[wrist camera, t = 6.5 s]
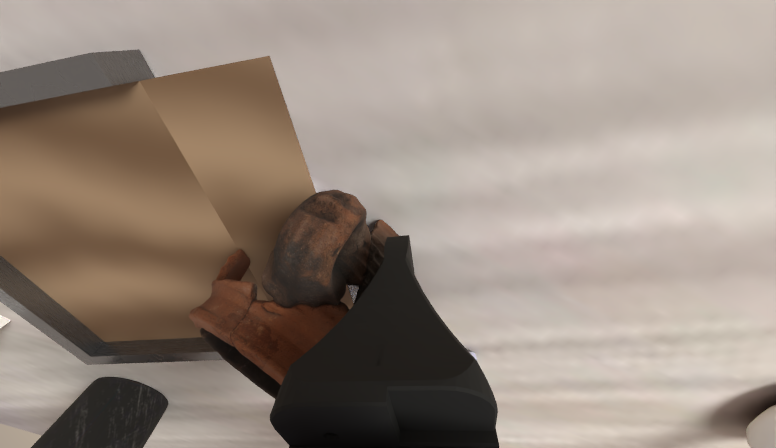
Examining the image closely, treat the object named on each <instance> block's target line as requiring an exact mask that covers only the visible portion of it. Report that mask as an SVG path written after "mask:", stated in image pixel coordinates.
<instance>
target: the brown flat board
mask: <svg viewBox="0 0 776 448" xmlns="http://www.w3.org/2000/svg"><path fill="white" fill-rule="evenodd" d="M314 194H316V192H315V189H314V186H313V183H312V180H311V177H310V174H309V171H308V168H307V165H306V162H305V159H304V157H303V154H302V151H301V148H300V145H299V142H298V139H297V136H296V133H295V130H294V127H293V124H292V121H291V118H290V115H289V112H288V109H287V106H286V104H285V101H284V98H283V95H282V92H281V89H280V86H279V83H278V80H277V77H276V74H275V71H274V68H273V65H272V62H271V59H270V56H266V57H261V58H256V59H251V60H246V61H240V62H235V63H230V64H225V65H220V66H215V67H209V68H204V69H199V70H194V71H189V72H183V73H178V74H173V75H168V76H163V77H157V78H152V79H147V80H142V81H137V82H132V83H126V84H121V85H116V86H111V87H106V88H101V89H95V90H90V91H85V92H80V93H75V94H70V95H65V96H59V97H54V98H49V99H44V100H39V101H34V102H29V103H23V104H18V105H13V106H8V107H3V108H0V255H1V256H2V257H3V258H4V259H5V260H7V261H8V262H9V263H10V264H11V265H13V266H14V267H15V268H16V269H17V270H19V271H20V272H21V273H22V274H23V275H25V276H26V277H27V278H28V279H30V280H31V281H32V282H33V283H34V284H36V285H37V286H38V287H39V288H40V289H42V290H43V291H44V292H45V293H46V294H48V295H49V296H50V297H51V298H53V299H54V300H55V301H56V302H57V303H59V304H60V305H61V306H62V307H63V308H65V309H66V310H67V311H68V312H69V313H71V314H72V315H73V316H74V317H75V318H77V319H78V320H79V321H80V322H82V323H83V324H84V325H85V326H86V327H88V328H89V329H90V330H91V331H92V332H94V333H95V334H96V335H97V336H98V337H100V338H101V339H102V340H103V341H105V342H114V341H134V340H155V339H176V338H196V337H201V333H200V329H201V328H196V327H195V325H194V322H193V321H192V320H191V319H190V318H189V314H190V311H191V310H192V309H194V308H196V307H198V306H200V305H202V304H203V303H204V302H205V301H206V300H208V299H209V298H210V296H211V293H212V282H213V281H214V280H216V278H217V276H218V274H219V272H220V269H221V267H223V266H224V265H225V264H226V262H227V259H228V257H229V256H231V255H233V254H234V253H236V251H237V250H239V249H241V250H243V251H244V252H245V253H246V254H247V256H248V257H249V258H250V266H249V268H248V269H247V271H246V272H245V274H244V276H243V277H242V279H241V281H243V282H244V281H248V282H253V283H255V284H256V285H257V300H265V301H271V300H273V297H271V296H270V295H269V294H268V293H267V292H266V291H265V290H264V288H263V286H262V274H263V271H264V269H265V267H266V264H267V262H268V259H269V256H270V253H271V252H272V251H273V250H274V247H275V244H276V241H277V238H278V235H279V233H280V231H281V229H282V226H283V225H284V223H285V222H286V220H287V219H288V217H289V216H290V214H291V213H292V212H293V211H294V210H295V209H296V208H297V207H298V206H299V205H300V204H301V203H302V202H303V201H305V200H306V199H307V198H309V197H310V196H312V195H314ZM341 302H343V303H345V304H346V305H347V307H348V308H349V309H351V308H352V306H353V305H354V304H353V301H352V298H351V295H350V292H349V289H348V286H347V285H346V292H345V295H344V297H343V298H342V299H341Z"/></svg>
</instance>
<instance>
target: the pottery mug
mask: <svg viewBox="0 0 776 448" xmlns="http://www.w3.org/2000/svg"><path fill="white" fill-rule="evenodd" d="M396 236H399V235H398V234H396V233H395V231H394V230H393V229H392V228H391V227H390V226H389V225H388V224H386V223H385V222H384V221H383V220H378V221H377V222H376V224H375V226H374V229H373V230H372V232H371V233H370V231H369V228H368V226H367V225H366V209H365V208H364V207H363V206H362V205H361V203H360V202H359V200H358V199H357V198H356V197H355V196H353V195H350V194H347V193H344V192H341V191H339V190H330V191H323V192H319V193H316V194H314V195H312V196H310V197H309V198H307V199H306V200H305V201H303V202H302V203H301V204H300V205H299V206H298V207H297V208H296V209H295V210H294V211H293V212H292V213H291V214H290V216H289V217H288V219H287V220H286V222H285V223H284V225H283V226H282V229H281V231H280V233H279V235H278V238H277V241H276V244H275V247H274V250H273V251H272V252H271V253H270V256H269V259H268V262H267V264H266V267H265V269H264V271H263V274H262V286H263V288H264V290H265V291H266V292H267V293H268V294H269V295H270V296H271V297H273V300H271V301H265V300H257V285H256V284H255V283H253V282H248V281H244V282H243V281H241V279H242V277H243V276H244V274H245V272H246V271H247V269H248V268H249V266H250V258H249V257H248V256H247V254H246V253H245V252H244V251H243V250H241V249H239V250H237V251H236V253H234V254H233V255H231V256H229V257H228V259H227V262H226V264H225V265H224V266H223V267H221V269H220V272H219V274H218V276H217V278H216V280H214V281H213V282H212V293H211V296H210V298H209V299H208V300H206V301H205V302H204V303H203V304H202V305H200V306H198V307H196V308H194V309H192V310H191V311H190V314H189V318H190V319H191V320H192V321H193V322H194V325H195V327H196V328H201V329H200V333H201V337H202V338H203V340H205V342H206V343H207V344H208V345H209V346H210V347H211V348H212V349H213V350H215V351H216V352H218V353H219V354H220V355H221V357H222V358H223V359H224V360H226V361H227V362H228V363H230V364H231V365H232V366H233V367H234V368H236V369H237V370H238V371H240V372H241V373H242V374H243V375H244V376H246V377H247V378H248V379H250V380H251V381H252V382H253V383H255V384H256V385H257V386H258V387H260V388H261V389H263V390H264V391H265V392H266V393H268V394H269V395H271V396H272V397H274V398H275V399H276V398H277V395H278V392H279V389H280V387H281V384H282V382H283V380H284V377H285V376H286V374H287V371H288V369H289V367H290V365H291V364H293V363H294V362H295V361H296V360H298V359H299V358H300V357H301V356H302V355H304V354H305V353H306V352H307V351H309V350H310V349H311V348H312V347H313V346H315V345H316V344H317V343H318V342H319V341H320V340H321V339H322V338H323V337H324V336H325V335H326V334H327V333H328V332H329V331H330V330H331V329H332V328H333V327H334V326H335V325H336V324H337V323H338V322H339V321H340V320H341V319H342V318H343V317H344V316H345V315H346V313H347V312H348V311H349V310H350V309H349V308H348V307H347V305H346V304H345V303H343V302H341V299H342V298H343V297H344V295H345V292H346V285H356V286H358V287H359V290H358V292H357V297H356V299H355V301H354V304H355V303H356V301H357V300H358V299H359V298H360V296H361V295H362V294H363V292H364V291H365V289H366V288H367V286H368V285H369V283H370V282H371V280H372V279H373V277H374V275H375V274H376V272H377V270H378V269H379V267H380V265H381V263H382V261H383V259H384V246H385V242H386V239H387V237H396Z"/></svg>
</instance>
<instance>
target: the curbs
mask: <svg viewBox="0 0 776 448" xmlns="http://www.w3.org/2000/svg"><path fill="white" fill-rule="evenodd" d="M152 78H155V77H154V76H153V74H152V72H151V70H150V68H149V67H148V65H147V63H146V61H145V59H144V58H143V56H142V54H141V52H140V50H127V51H112V52H96V53H88V54H84V55H79V56H74V57H70V58H65V59H60V60H56V61H51V62H46V63H42V64H37V65H33V66H28V67H23V68H19V69H14V70H9V71H5V72H0V108H3V107H8V106H13V105H18V104H23V103H29V102H34V101H39V100H44V99H49V98H54V97H59V96H65V95H70V94H75V93H80V92H85V91H90V90H95V89H101V88H106V87H111V86H116V85H121V84H126V83H132V82H137V81H142V80H147V79H152ZM0 302H2V303H3V304H4V305H6V306H7V307H9V308H10V309H11V310H13V311H14V312H15V313H17V314H18V315H20V316H21V317H22V318H24V319H25V320H26V321H28V322H29V323H31V324H32V325H33V326H35V327H36V328H37V329H39V330H40V331H41V332H43V333H44V334H46V335H47V336H48V337H50V338H51V339H52V340H54V341H55V342H57V343H58V344H59V345H61V346H62V347H63V348H65V349H66V350H68V351H69V352H70V353H72V354H73V355H74V356H76V357H77V358H79V359H80V360H81V361H83V362H84V363H85V364H87V365H91V364H119V363H147V362H175V361H202V360H224V359H223V358H222V357H221V355H220V354H219V353H218V352H216V351H215V350H213V349H212V348H211V347H210V346H209V345H208V344H207V343H206V342H205V340H203V338H202V337H196V338H176V339H155V340H134V341H114V342H105V341H103V340H102V339H101V338H100V337H98V336H97V335H96V334H95V333H94V332H92V331H91V330H90V329H89V328H88V327H86V326H85V325H84V324H83V323H82V322H80V321H79V320H78V319H77V318H75V317H74V316H73V315H72V314H71V313H69V312H68V311H67V310H66V309H65V308H63V307H62V306H61V305H60V304H59V303H57V302H56V301H55V300H54V299H53V298H51V297H50V296H49V295H48V294H46V293H45V292H44V291H43V290H42V289H40V288H39V287H38V286H37V285H36V284H34V283H33V282H32V281H31V280H30V279H28V278H27V277H26V276H25V275H23V274H22V273H21V272H20V271H19V270H17V269H16V268H15V267H14V266H13V265H11V264H10V263H9V262H8V261H7V260H5V259H4V258H3V257H2V256H1V255H0Z"/></svg>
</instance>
